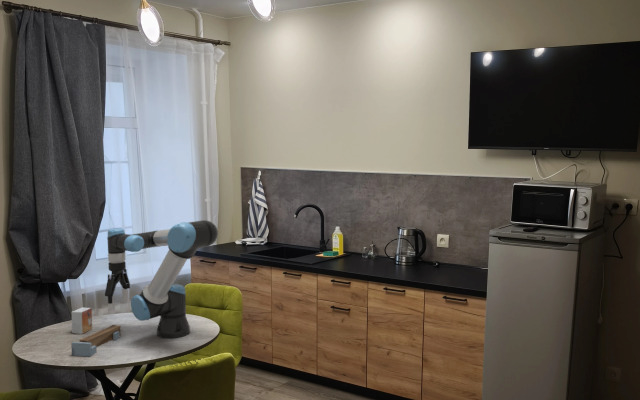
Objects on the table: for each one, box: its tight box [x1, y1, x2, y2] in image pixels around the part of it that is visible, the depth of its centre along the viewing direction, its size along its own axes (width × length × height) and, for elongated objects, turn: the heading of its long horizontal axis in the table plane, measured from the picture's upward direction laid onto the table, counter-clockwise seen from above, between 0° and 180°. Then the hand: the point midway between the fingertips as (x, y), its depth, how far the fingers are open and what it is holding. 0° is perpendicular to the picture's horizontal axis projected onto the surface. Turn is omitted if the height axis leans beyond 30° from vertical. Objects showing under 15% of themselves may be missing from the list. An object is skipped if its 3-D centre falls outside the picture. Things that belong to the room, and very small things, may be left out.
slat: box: [79, 324, 122, 348], centre depth 250 cm, size 4×22×5 cm, turn 162°
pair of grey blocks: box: [112, 331, 121, 341], centre depth 256 cm, size 8×4×3 cm, turn 81°
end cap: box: [70, 341, 97, 357], centre depth 236 cm, size 8×5×6 cm, turn 81°
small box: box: [71, 306, 93, 335], centre depth 266 cm, size 8×6×10 cm
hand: (118, 306), depth 264 cm, fingers open, 13 cm apart
